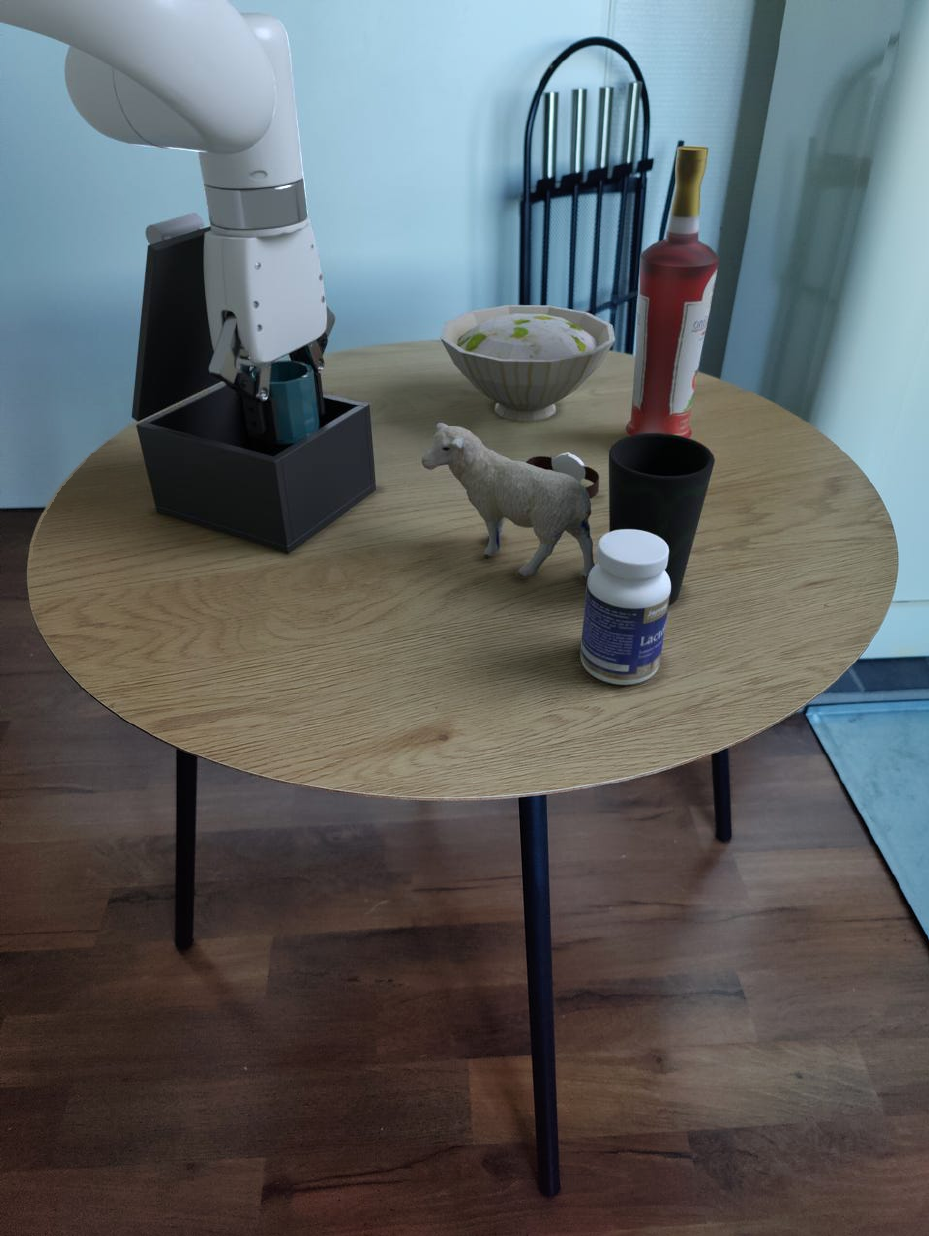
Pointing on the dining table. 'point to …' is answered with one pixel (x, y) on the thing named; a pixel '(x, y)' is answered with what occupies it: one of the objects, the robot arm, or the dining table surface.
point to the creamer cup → (293, 399)
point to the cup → (660, 492)
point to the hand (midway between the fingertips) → (287, 424)
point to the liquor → (673, 309)
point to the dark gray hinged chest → (257, 469)
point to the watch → (569, 469)
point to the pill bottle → (626, 607)
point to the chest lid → (173, 318)
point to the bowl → (527, 354)
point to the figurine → (515, 495)
